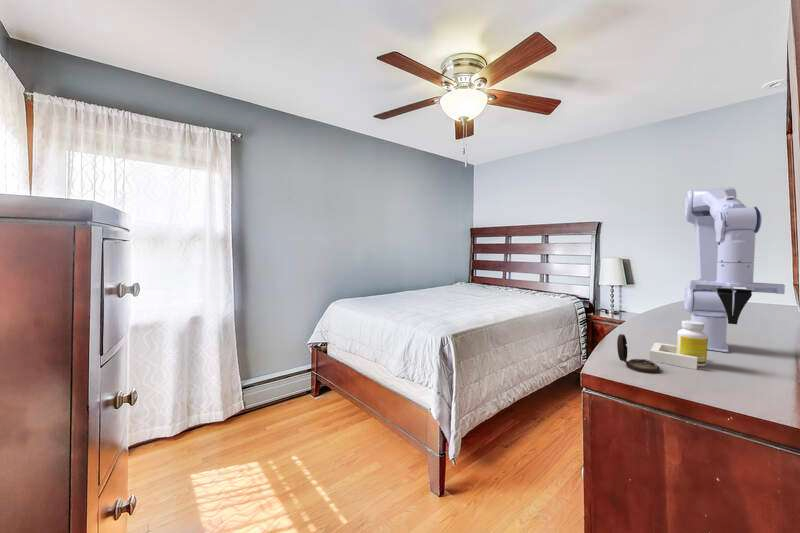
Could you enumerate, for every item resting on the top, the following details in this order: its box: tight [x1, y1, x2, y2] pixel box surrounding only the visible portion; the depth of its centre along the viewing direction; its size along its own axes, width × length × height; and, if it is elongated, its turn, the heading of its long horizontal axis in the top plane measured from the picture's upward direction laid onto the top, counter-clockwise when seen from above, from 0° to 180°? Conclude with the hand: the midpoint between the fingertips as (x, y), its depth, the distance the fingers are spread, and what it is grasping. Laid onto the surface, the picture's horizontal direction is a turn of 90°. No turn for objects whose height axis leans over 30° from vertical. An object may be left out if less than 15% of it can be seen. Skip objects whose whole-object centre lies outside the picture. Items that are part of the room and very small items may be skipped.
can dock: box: [649, 342, 698, 370], centre depth 80 cm, size 10×8×2 cm
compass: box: [616, 333, 661, 374], centre depth 76 cm, size 8×8×7 cm
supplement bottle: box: [676, 320, 708, 367], centre depth 78 cm, size 5×5×10 cm
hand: (732, 323), depth 74 cm, fingers closed
